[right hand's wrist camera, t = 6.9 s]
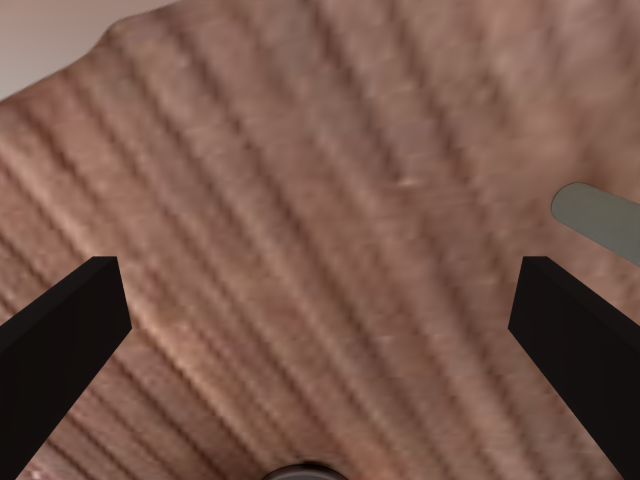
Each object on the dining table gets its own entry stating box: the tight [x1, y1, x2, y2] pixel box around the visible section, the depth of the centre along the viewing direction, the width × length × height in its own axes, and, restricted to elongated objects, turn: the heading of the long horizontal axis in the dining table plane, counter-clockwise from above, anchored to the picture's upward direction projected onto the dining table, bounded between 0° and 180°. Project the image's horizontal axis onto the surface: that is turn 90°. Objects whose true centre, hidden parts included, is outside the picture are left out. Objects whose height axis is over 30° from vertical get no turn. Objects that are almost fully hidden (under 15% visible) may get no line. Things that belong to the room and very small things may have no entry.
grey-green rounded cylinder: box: [551, 183, 640, 267], centre depth 32 cm, size 4×4×16 cm
